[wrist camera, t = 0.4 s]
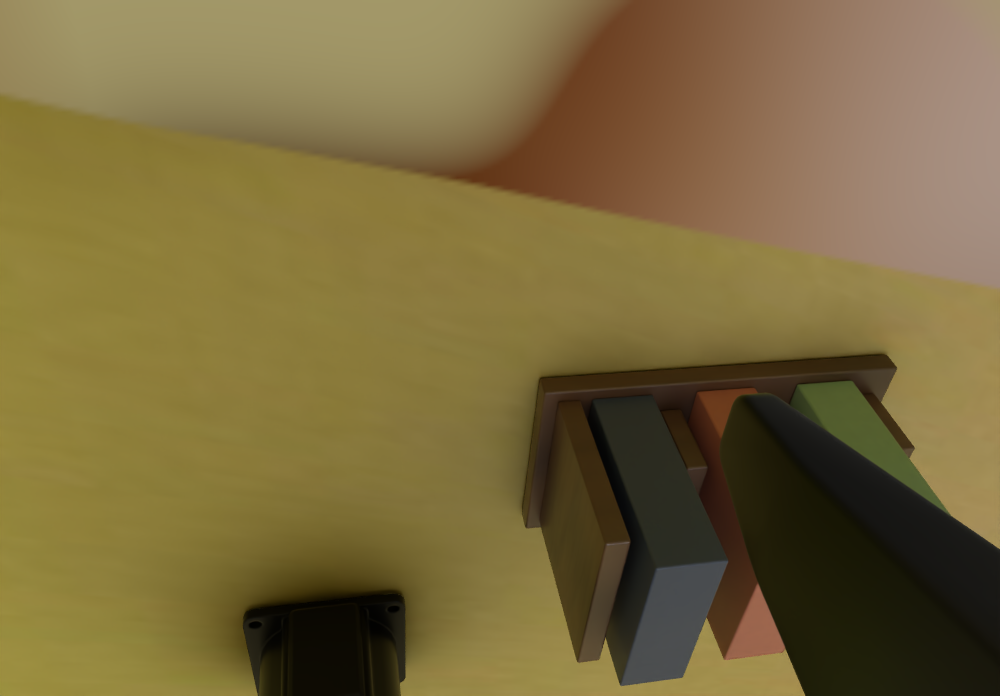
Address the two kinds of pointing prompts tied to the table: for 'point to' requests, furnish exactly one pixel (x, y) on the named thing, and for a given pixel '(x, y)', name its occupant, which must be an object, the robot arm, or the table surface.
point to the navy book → (655, 543)
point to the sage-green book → (859, 429)
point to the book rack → (585, 485)
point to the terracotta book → (730, 542)
